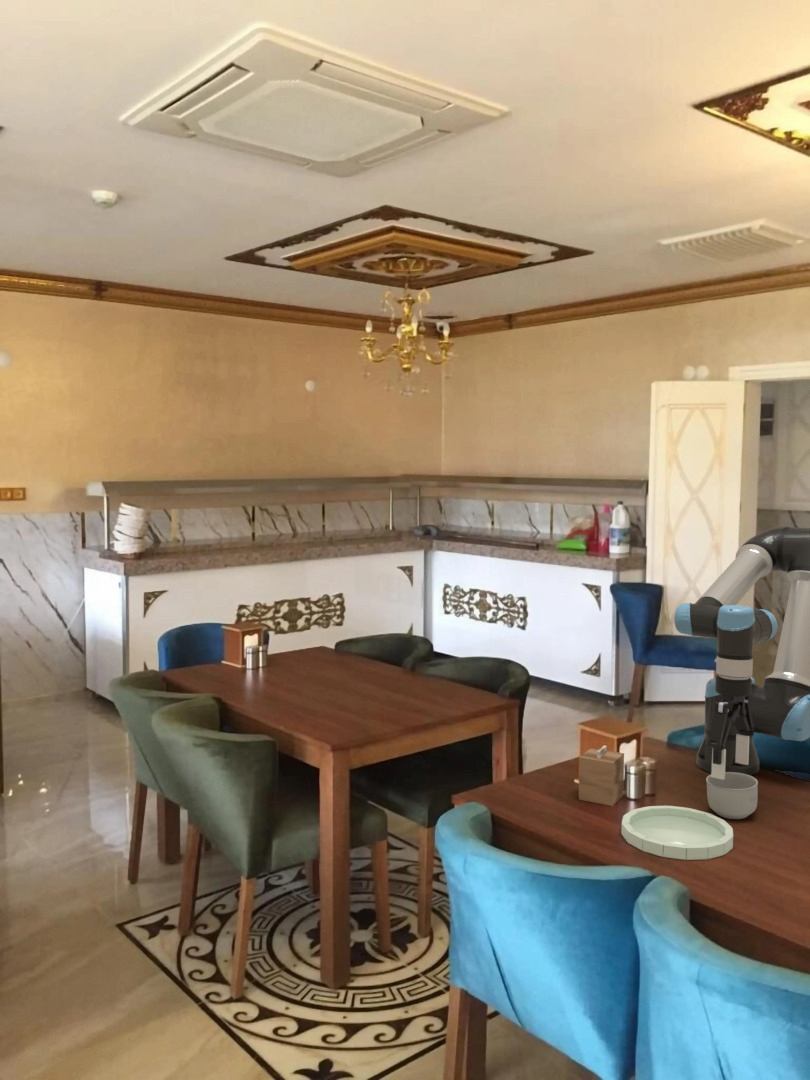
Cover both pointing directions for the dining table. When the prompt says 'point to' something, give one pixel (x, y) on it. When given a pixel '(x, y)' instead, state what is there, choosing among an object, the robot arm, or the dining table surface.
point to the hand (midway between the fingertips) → (730, 770)
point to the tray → (677, 832)
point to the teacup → (733, 795)
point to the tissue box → (601, 776)
